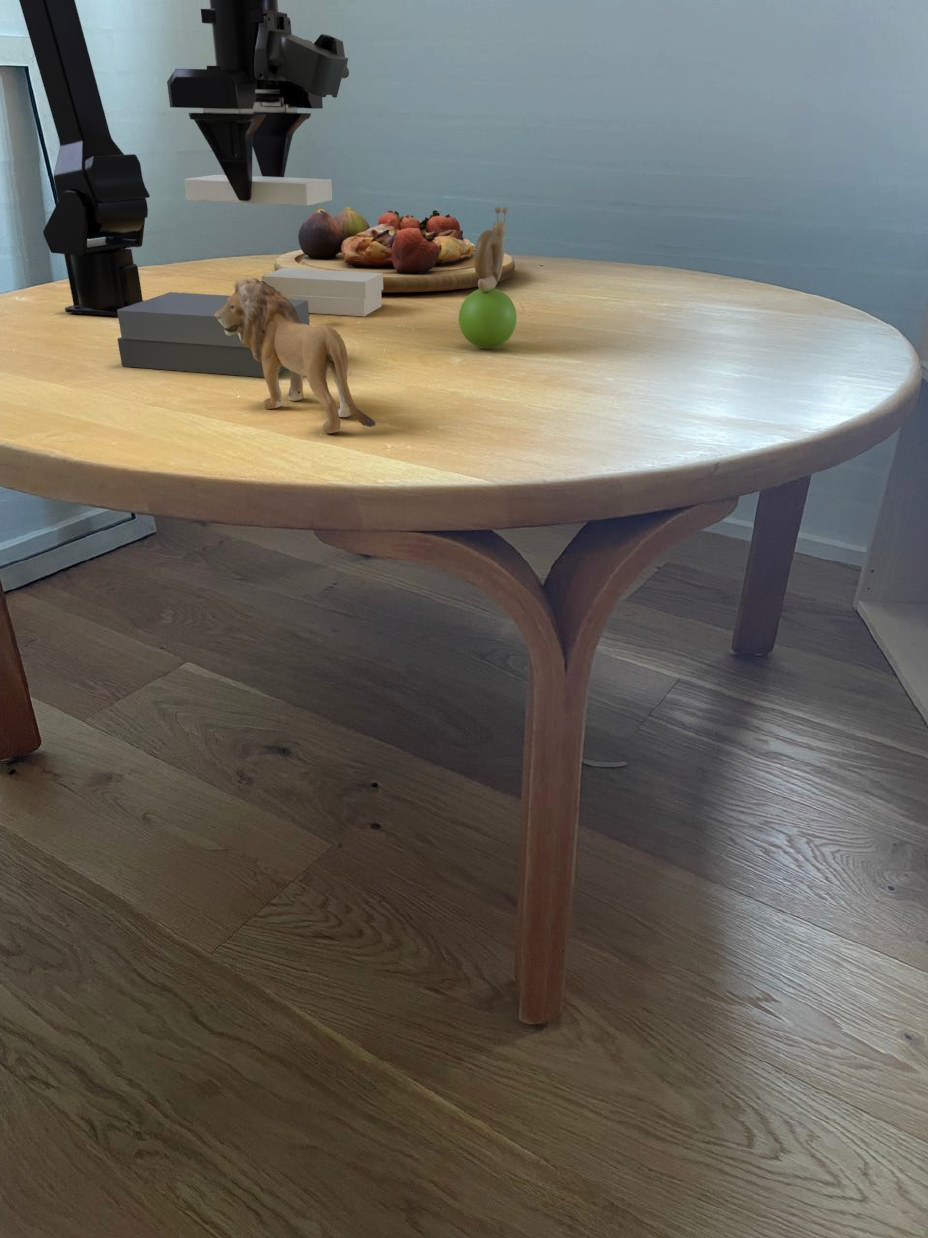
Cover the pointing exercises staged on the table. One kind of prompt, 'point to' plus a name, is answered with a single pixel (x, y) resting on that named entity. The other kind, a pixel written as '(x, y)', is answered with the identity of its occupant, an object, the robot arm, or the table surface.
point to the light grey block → (330, 289)
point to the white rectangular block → (261, 190)
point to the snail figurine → (488, 293)
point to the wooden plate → (390, 250)
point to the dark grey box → (187, 336)
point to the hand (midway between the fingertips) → (260, 197)
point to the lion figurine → (290, 348)
